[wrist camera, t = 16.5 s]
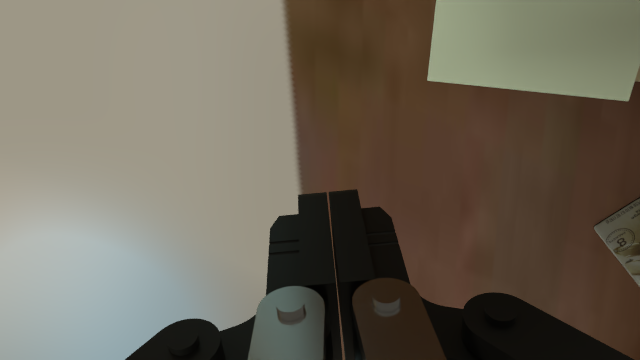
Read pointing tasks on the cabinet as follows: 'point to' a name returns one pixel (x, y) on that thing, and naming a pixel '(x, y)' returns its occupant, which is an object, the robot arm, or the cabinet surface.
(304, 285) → the robot arm
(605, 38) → the domino
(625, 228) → the coffee box
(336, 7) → the cabinet surface
